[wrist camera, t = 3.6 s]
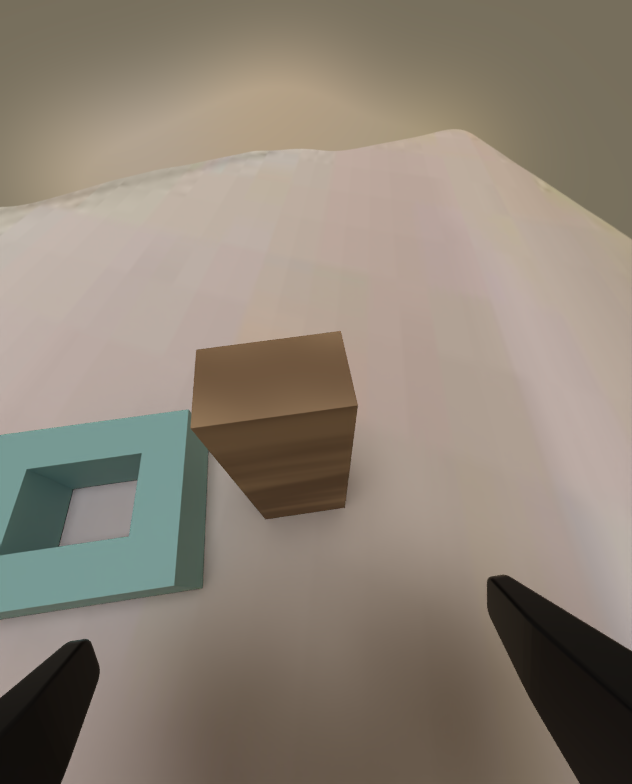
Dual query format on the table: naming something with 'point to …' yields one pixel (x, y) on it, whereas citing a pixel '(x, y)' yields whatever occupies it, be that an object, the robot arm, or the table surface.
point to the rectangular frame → (113, 556)
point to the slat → (279, 420)
